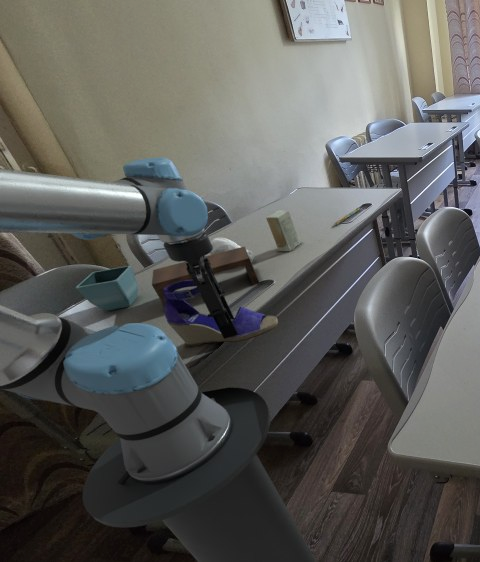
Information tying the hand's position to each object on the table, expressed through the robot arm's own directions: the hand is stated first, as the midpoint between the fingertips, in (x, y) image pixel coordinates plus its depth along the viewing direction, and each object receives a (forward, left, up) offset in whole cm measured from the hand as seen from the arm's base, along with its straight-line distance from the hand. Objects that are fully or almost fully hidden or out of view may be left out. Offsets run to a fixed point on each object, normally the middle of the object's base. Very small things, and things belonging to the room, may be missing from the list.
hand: (229, 327), depth 92 cm
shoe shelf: (-2, +29, -2) cm, 29 cm away
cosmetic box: (+21, +44, -2) cm, 48 cm away
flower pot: (-23, +36, -2) cm, 42 cm away
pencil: (+45, +57, -2) cm, 73 cm away
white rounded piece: (+6, +41, +2) cm, 42 cm away
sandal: (0, +1, -2) cm, 2 cm away
